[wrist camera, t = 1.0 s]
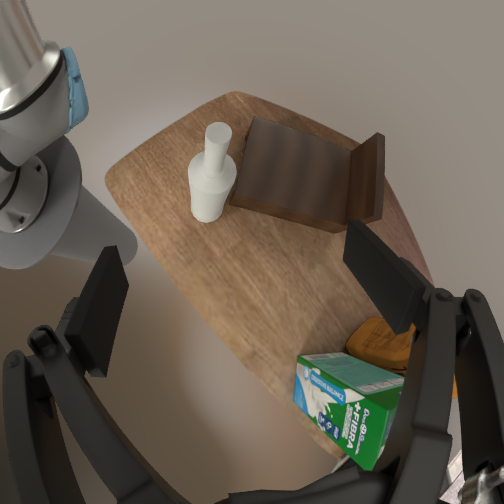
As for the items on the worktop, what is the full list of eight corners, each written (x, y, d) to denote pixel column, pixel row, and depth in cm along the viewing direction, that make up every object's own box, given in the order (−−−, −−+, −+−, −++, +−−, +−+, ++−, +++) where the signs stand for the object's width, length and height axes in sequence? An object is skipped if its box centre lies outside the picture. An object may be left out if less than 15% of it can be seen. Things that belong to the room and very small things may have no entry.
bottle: (184, 206, 44) (172, 128, 20) (209, 186, 45) (223, 96, 21) (204, 230, 45) (213, 175, 20) (229, 210, 46) (265, 138, 21)
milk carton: (337, 395, 47) (426, 452, 23) (293, 401, 45) (371, 477, 21) (341, 351, 48) (444, 390, 24) (297, 355, 46) (389, 410, 22)
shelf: (228, 204, 46) (246, 174, 32) (246, 133, 48) (267, 87, 34) (334, 233, 50) (382, 219, 36) (342, 165, 52) (384, 135, 38)
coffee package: (362, 387, 48) (440, 426, 27) (337, 341, 48) (423, 371, 27) (395, 355, 51) (477, 378, 30) (374, 309, 50) (464, 319, 29)
